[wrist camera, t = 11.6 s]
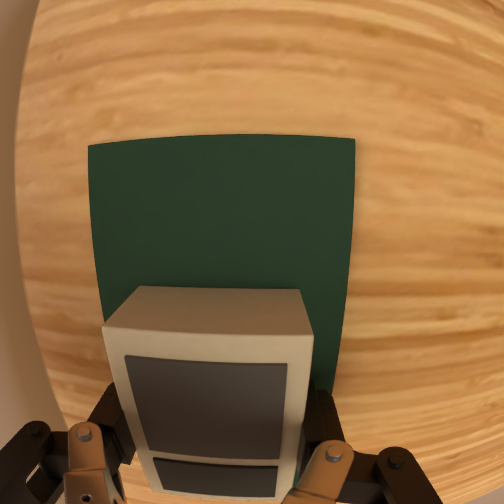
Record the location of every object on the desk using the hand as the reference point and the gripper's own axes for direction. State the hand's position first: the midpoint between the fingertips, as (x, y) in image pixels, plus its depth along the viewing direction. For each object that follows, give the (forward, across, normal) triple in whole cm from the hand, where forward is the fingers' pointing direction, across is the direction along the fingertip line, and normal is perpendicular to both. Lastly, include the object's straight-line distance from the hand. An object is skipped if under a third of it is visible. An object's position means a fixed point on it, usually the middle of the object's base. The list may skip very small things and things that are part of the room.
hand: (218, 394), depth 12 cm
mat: (+1, 0, 0) cm, 1 cm away
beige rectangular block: (+1, 0, 0) cm, 1 cm away
